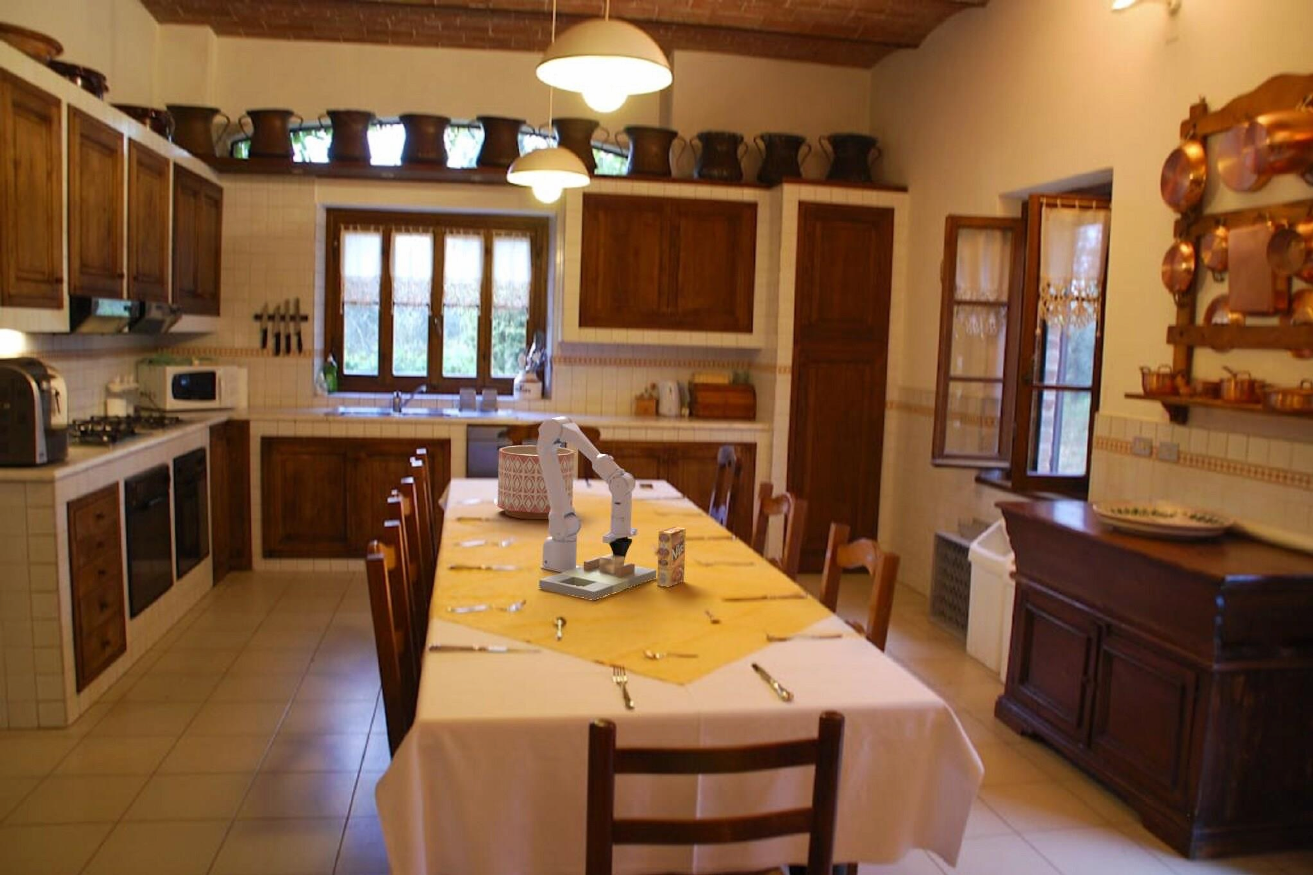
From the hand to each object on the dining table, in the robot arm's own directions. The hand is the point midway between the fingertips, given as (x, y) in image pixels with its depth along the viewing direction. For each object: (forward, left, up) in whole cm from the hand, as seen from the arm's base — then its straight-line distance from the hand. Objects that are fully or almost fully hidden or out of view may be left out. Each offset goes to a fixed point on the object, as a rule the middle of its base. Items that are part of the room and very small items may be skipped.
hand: (619, 564), depth 280 cm
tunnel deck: (0, -10, -4) cm, 10 cm away
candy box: (+15, +3, -4) cm, 16 cm away
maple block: (0, -4, -1) cm, 4 cm away
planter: (-75, +54, -4) cm, 93 cm away
